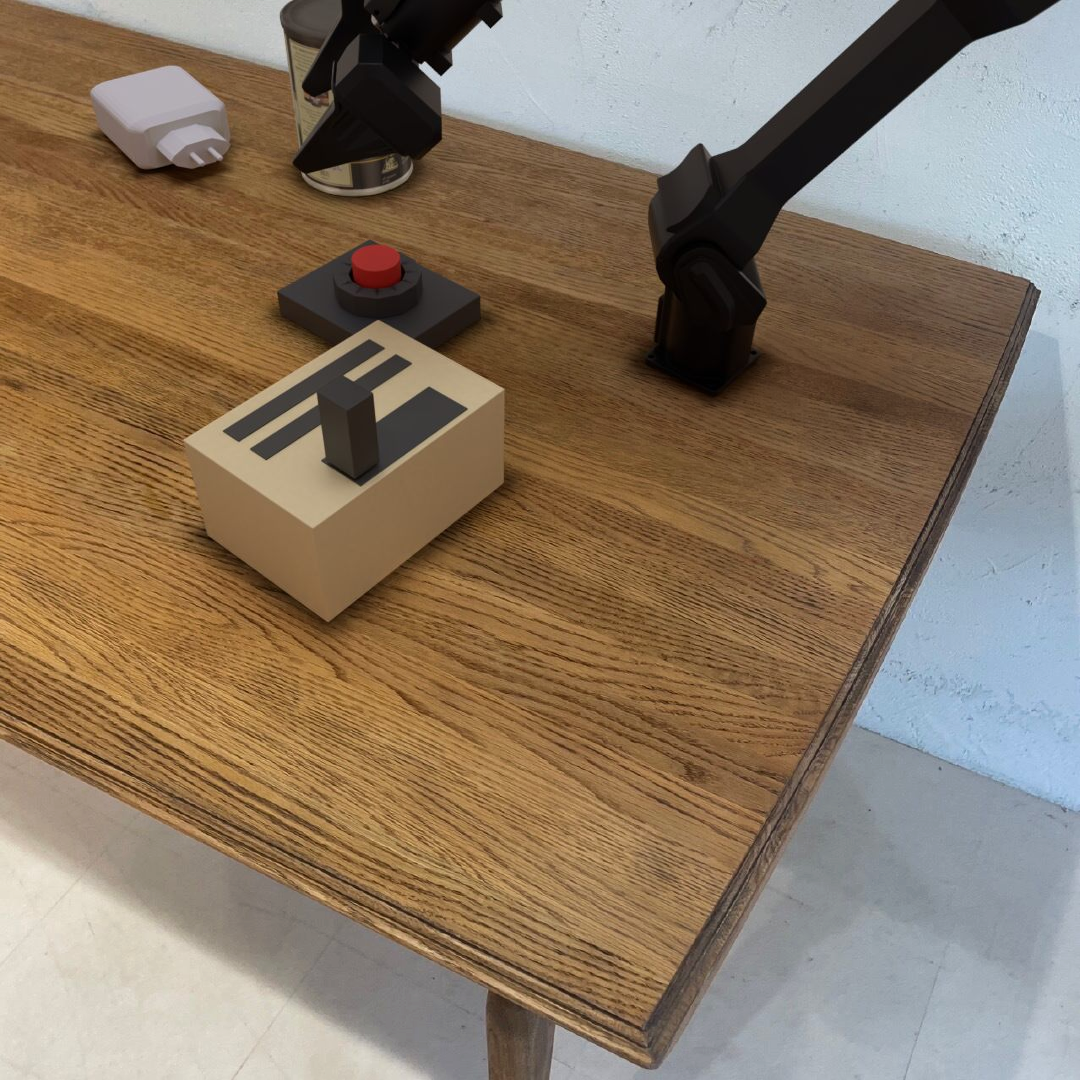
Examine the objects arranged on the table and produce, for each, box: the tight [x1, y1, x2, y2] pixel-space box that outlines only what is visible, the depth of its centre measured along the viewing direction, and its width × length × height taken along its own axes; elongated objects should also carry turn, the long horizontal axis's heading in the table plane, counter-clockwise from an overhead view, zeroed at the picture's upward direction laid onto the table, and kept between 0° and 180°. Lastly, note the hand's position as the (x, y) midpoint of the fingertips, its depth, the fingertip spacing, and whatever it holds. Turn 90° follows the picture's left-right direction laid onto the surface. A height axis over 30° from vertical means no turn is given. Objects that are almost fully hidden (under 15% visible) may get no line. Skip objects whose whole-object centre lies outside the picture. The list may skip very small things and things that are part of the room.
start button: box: [352, 244, 401, 289], centre depth 86 cm, size 4×4×2 cm
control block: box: [276, 239, 482, 351], centre depth 87 cm, size 12×10×4 cm
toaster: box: [182, 320, 506, 623], centre depth 71 cm, size 11×16×8 cm
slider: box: [317, 376, 380, 478], centre depth 63 cm, size 2×2×5 cm
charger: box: [89, 65, 232, 170], centre depth 104 cm, size 5×9×15 cm
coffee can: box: [279, 0, 414, 197], centre depth 100 cm, size 10×10×14 cm
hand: (302, 128), depth 72 cm, fingers open, 9 cm apart
